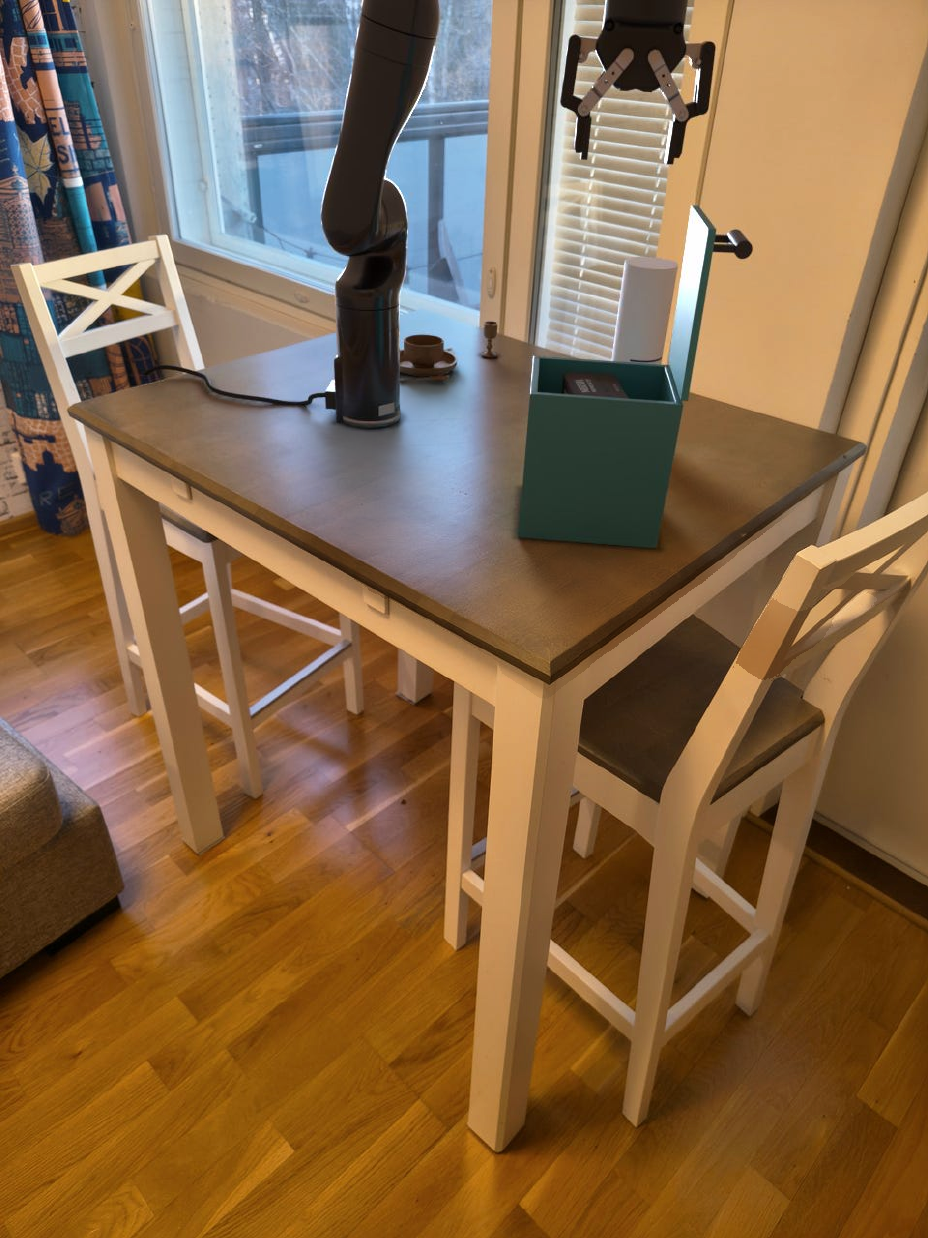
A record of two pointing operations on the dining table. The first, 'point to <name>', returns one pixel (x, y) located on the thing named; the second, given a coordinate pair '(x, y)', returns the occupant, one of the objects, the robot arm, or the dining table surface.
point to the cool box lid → (697, 291)
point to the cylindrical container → (644, 309)
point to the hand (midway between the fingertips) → (625, 161)
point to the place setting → (435, 355)
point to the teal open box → (598, 454)
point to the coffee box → (592, 385)
